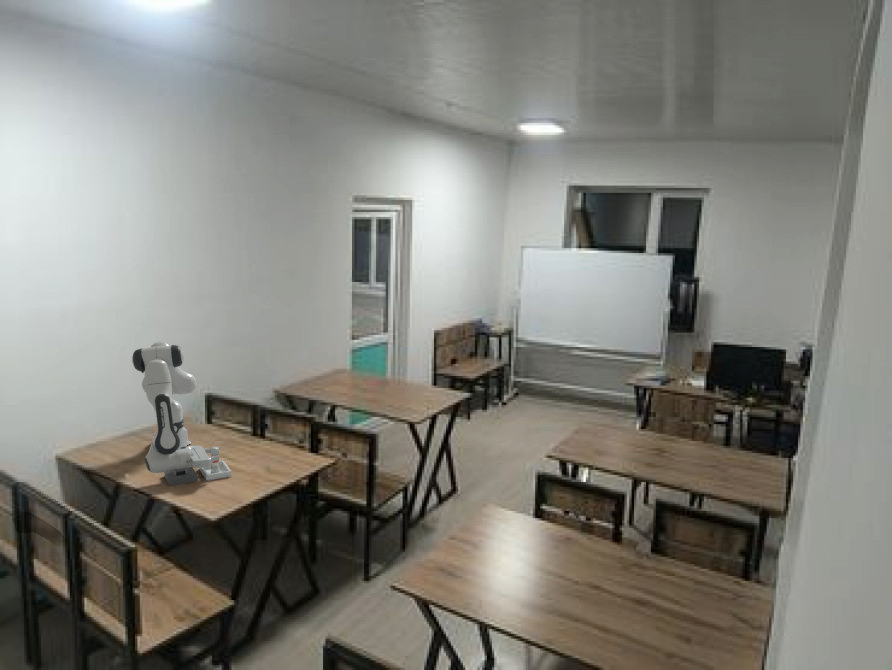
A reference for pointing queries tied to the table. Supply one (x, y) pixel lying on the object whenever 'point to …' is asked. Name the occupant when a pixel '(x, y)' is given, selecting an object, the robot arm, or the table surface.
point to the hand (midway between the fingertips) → (216, 453)
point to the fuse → (215, 464)
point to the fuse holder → (181, 476)
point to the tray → (222, 474)
